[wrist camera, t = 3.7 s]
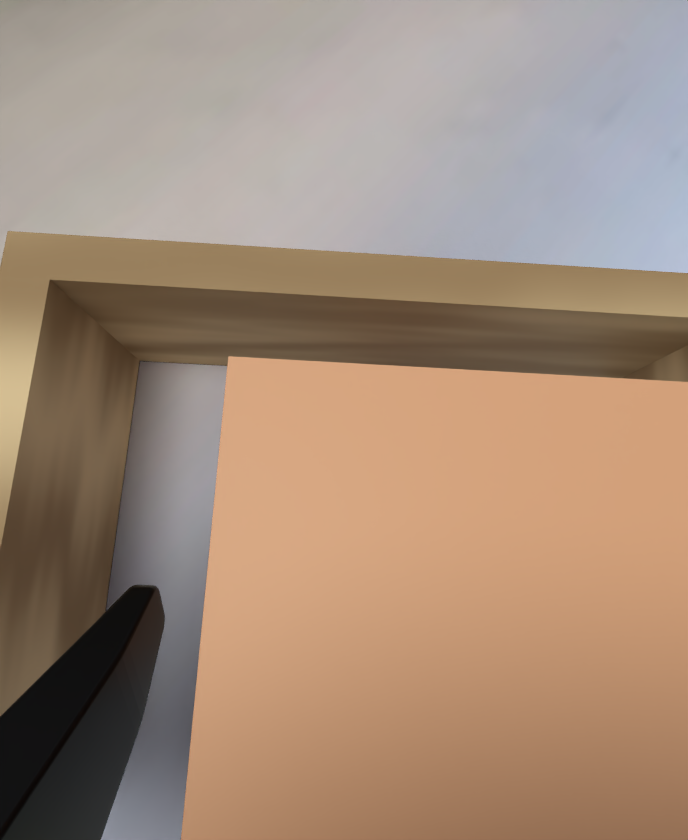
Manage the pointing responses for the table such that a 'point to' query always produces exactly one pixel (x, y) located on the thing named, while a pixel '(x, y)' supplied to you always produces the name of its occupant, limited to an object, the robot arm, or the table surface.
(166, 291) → the u-shaped frame
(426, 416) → the block
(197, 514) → the table surface
